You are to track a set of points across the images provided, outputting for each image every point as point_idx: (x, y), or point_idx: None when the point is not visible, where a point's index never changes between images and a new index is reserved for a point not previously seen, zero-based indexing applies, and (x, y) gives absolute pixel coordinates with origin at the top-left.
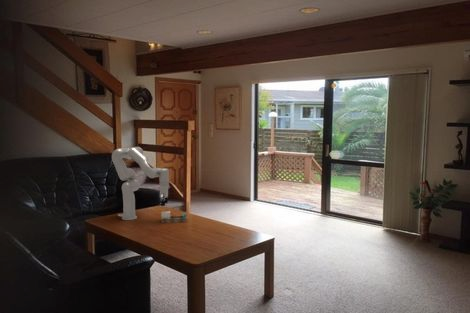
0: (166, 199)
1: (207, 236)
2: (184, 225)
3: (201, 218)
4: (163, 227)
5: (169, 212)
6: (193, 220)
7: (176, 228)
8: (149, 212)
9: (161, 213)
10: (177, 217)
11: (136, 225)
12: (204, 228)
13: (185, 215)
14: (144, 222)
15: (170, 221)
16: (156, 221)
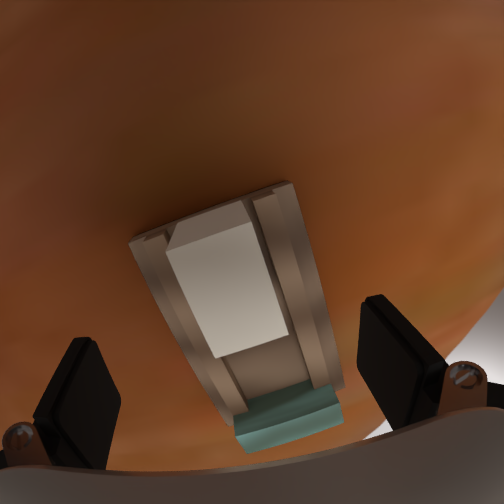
0: (392, 410)
1: None
2: (141, 419)
3: (342, 444)
4: (31, 298)
5: (221, 348)
6: None
7: None
8: (491, 20)
9: (167, 249)
10: (300, 349)
11: (35, 30)
12: None
13: (243, 446)
14: (142, 37)
15: (169, 322)
16: (203, 146)
